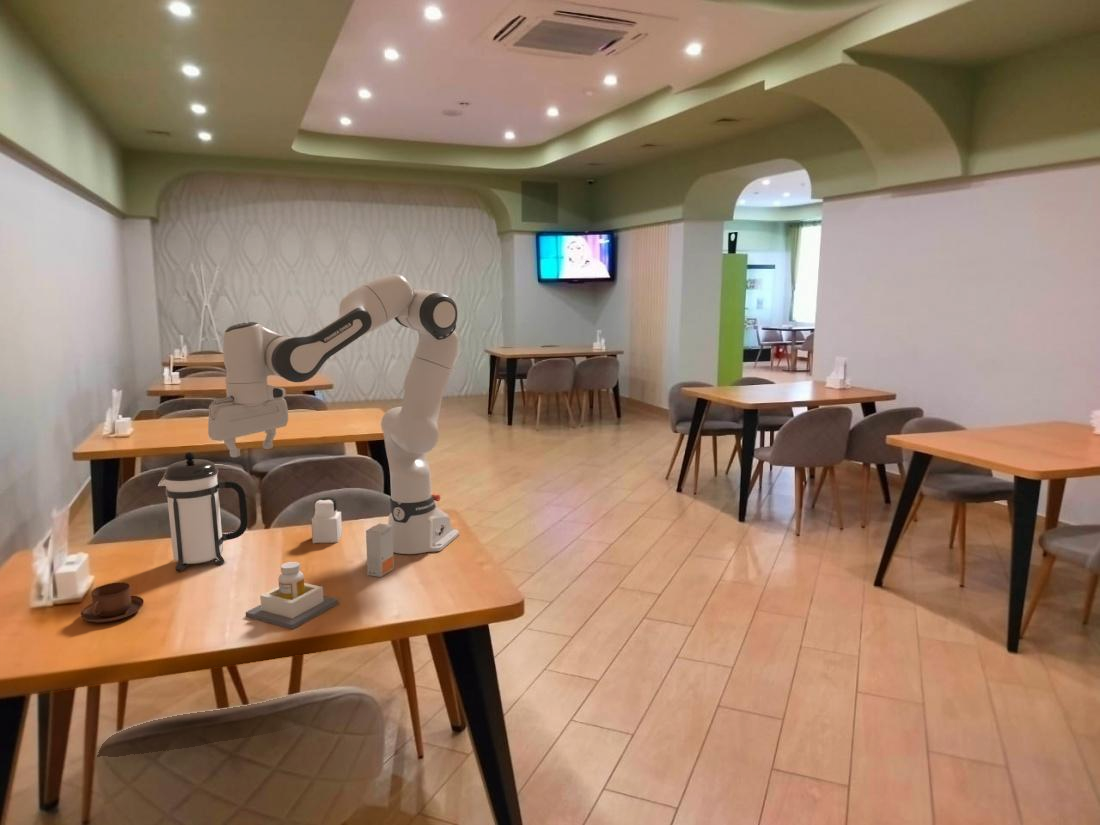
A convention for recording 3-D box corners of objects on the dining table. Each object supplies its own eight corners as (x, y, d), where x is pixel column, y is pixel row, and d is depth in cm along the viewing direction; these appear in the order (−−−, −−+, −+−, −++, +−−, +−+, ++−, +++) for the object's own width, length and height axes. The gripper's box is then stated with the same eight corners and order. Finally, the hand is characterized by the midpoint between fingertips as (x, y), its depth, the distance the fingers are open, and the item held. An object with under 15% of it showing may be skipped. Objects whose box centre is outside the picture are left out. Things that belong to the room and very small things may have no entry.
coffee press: (201, 576, 180) (191, 461, 175) (154, 568, 185) (142, 456, 180) (251, 552, 196) (243, 446, 191) (207, 545, 201) (197, 442, 196)
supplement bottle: (302, 598, 165) (299, 558, 163) (308, 606, 160) (305, 566, 158) (278, 604, 162) (275, 563, 160) (283, 612, 157) (280, 571, 156)
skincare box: (381, 577, 179) (379, 532, 177) (367, 575, 180) (364, 530, 178) (394, 568, 184) (392, 524, 182) (380, 566, 186) (378, 522, 184)
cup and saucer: (136, 623, 155) (133, 596, 154) (73, 630, 152) (70, 603, 151) (150, 600, 166) (147, 575, 165) (91, 607, 163) (88, 581, 162)
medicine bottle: (317, 535, 210) (315, 495, 208) (342, 534, 211) (340, 495, 209) (312, 543, 203) (309, 503, 201) (337, 542, 204) (335, 502, 202)
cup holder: (293, 592, 170) (292, 574, 169) (338, 603, 164) (337, 585, 163) (245, 616, 158) (244, 597, 157) (292, 629, 152) (291, 609, 151)
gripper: (218, 401, 153) (224, 463, 155) (290, 388, 171) (294, 445, 174) (198, 399, 156) (204, 460, 158) (271, 387, 174) (275, 442, 176)
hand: (252, 452), depth 166 cm, fingers open, 8 cm apart
